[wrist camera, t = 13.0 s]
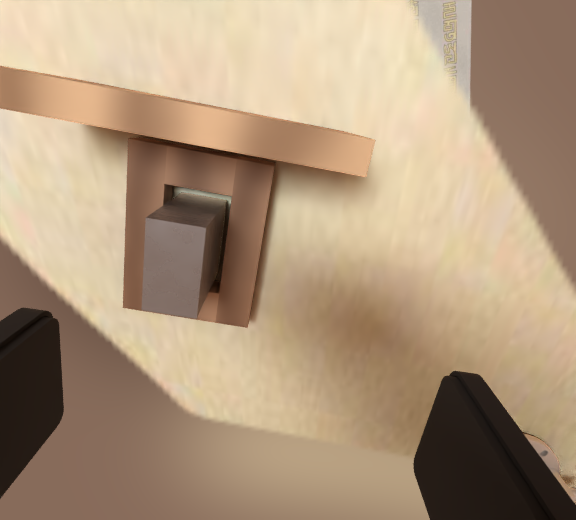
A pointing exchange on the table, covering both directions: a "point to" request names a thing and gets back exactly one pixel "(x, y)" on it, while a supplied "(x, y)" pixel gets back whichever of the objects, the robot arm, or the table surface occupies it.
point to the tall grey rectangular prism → (182, 254)
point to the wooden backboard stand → (191, 167)
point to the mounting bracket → (449, 36)
